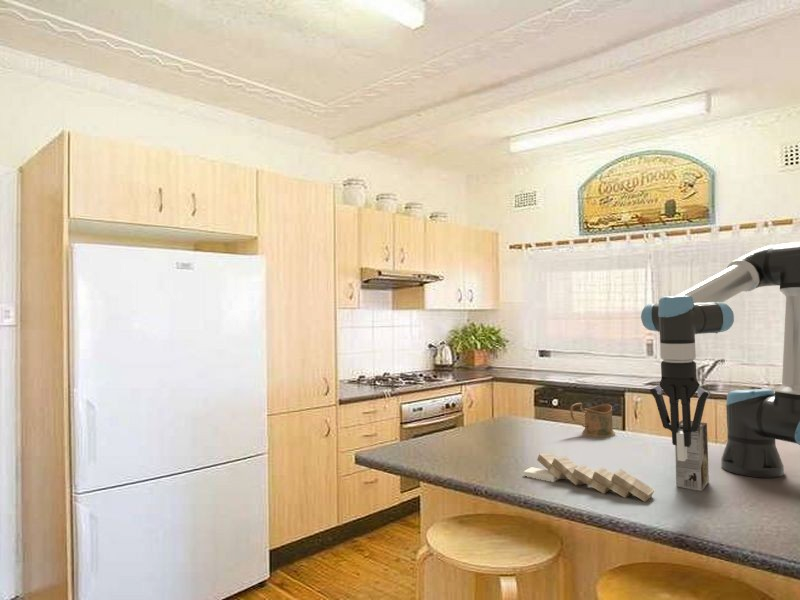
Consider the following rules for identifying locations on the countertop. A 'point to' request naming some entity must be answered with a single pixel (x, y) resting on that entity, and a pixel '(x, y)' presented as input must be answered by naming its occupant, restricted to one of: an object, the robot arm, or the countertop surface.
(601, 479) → the domino
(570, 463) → the domino
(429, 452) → the countertop surface
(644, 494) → the domino
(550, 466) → the domino
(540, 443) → the countertop surface
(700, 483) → the coffee box
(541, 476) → the domino
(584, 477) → the domino
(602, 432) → the mug
